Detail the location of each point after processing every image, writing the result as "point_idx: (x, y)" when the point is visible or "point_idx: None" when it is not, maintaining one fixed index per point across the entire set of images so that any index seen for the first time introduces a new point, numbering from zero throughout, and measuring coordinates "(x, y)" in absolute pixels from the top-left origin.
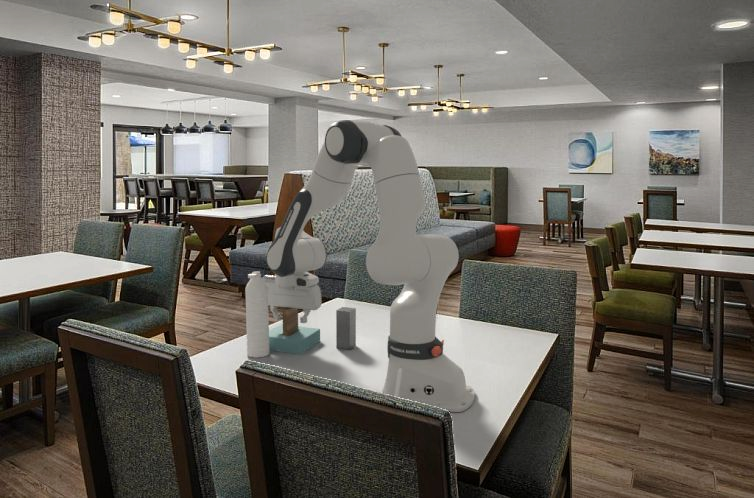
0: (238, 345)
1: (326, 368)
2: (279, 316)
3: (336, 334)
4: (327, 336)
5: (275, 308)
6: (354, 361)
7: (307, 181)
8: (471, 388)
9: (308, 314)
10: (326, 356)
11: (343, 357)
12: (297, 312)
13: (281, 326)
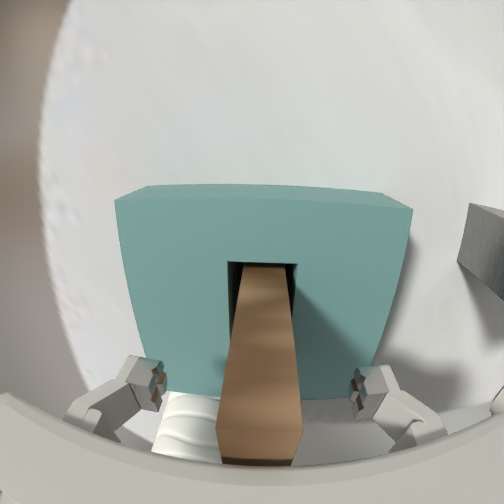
0: (96, 341)
1: (429, 393)
2: (154, 377)
3: (490, 288)
4: (385, 107)
5: (98, 409)
6: (488, 334)
7: None
8: None
9: (416, 403)
10: (430, 340)
11: (471, 324)
12: (295, 374)
13: (141, 246)
